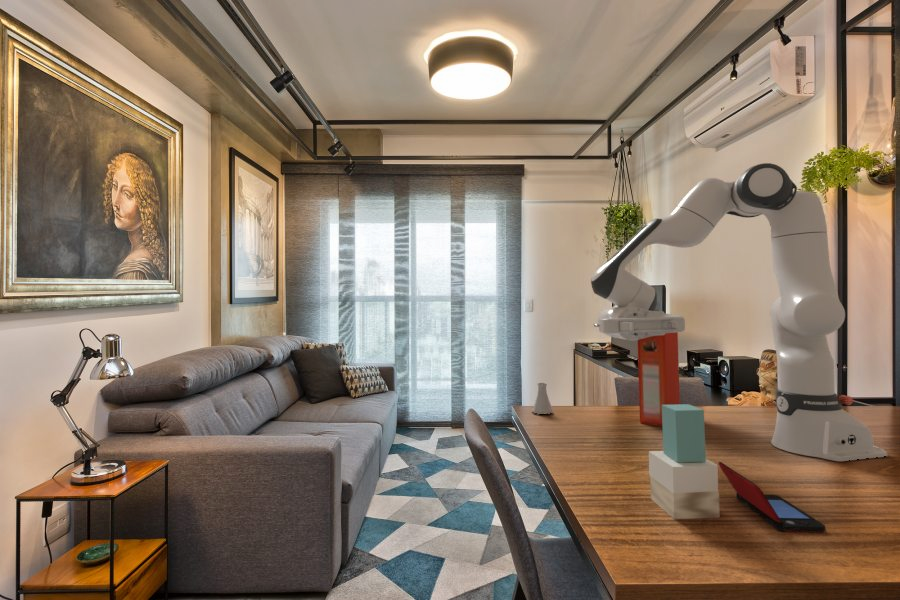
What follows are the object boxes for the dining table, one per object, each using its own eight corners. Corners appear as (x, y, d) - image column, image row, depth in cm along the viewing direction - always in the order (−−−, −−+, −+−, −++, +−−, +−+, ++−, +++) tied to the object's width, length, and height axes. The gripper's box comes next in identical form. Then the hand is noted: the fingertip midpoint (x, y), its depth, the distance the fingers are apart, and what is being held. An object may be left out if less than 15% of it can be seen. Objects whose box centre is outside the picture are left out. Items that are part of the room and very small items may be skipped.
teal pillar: (690, 452, 83) (688, 404, 83) (705, 461, 78) (703, 409, 78) (663, 453, 83) (661, 404, 83) (677, 462, 78) (675, 410, 78)
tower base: (692, 497, 84) (691, 474, 84) (719, 518, 76) (719, 491, 76) (650, 499, 84) (650, 475, 84) (673, 519, 76) (673, 493, 76)
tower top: (689, 473, 84) (689, 449, 84) (718, 491, 76) (717, 465, 76) (649, 475, 84) (648, 451, 84) (673, 493, 76) (673, 467, 76)
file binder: (638, 422, 135) (636, 318, 136) (653, 411, 149) (651, 316, 149) (667, 427, 130) (665, 318, 131) (680, 415, 144) (678, 316, 144)
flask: (553, 416, 145) (553, 385, 145) (531, 415, 147) (530, 385, 147) (553, 410, 152) (552, 381, 152) (531, 410, 154) (531, 381, 154)
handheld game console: (829, 535, 70) (828, 488, 70) (758, 533, 71) (757, 486, 71) (777, 500, 83) (776, 460, 83) (717, 499, 84) (716, 459, 84)
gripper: (590, 312, 117) (610, 313, 104) (667, 310, 118) (697, 311, 104) (591, 336, 117) (611, 340, 103) (668, 334, 118) (698, 338, 104)
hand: (654, 326), depth 104 cm, fingers open, 8 cm apart
